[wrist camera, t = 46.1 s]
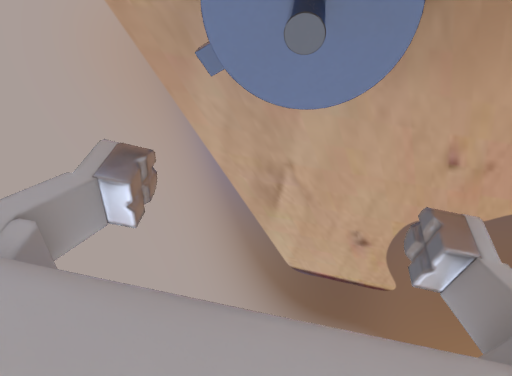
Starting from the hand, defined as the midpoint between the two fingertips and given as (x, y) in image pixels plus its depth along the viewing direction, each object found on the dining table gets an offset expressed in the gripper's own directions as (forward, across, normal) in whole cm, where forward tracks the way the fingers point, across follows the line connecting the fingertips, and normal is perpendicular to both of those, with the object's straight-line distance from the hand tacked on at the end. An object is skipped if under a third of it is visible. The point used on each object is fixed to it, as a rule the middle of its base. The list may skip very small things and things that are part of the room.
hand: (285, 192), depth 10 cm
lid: (+20, 0, 0) cm, 20 cm away
